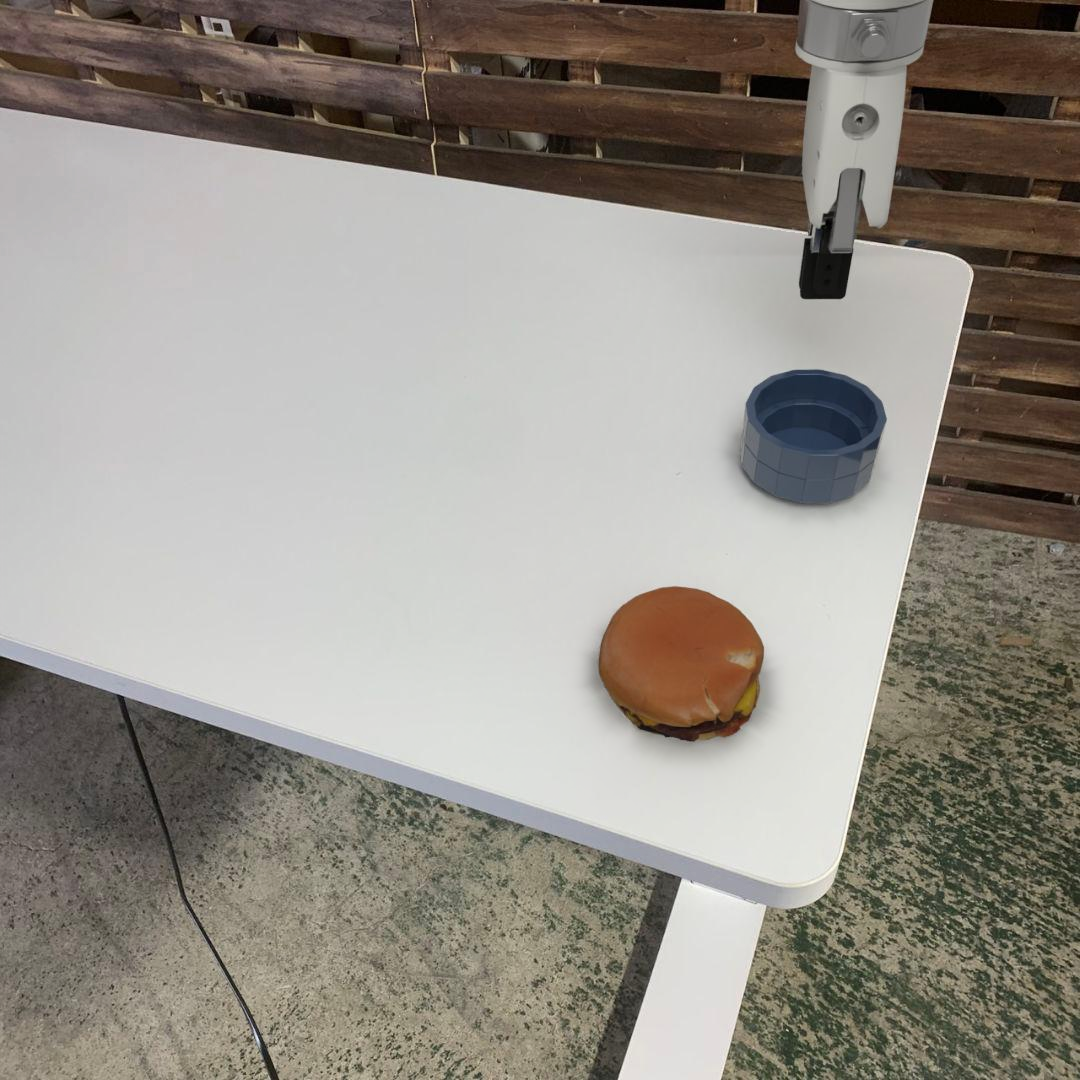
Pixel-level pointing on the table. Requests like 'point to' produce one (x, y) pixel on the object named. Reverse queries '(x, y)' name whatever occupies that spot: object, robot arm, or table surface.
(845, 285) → the robot arm
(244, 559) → the table surface
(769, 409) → the bowl
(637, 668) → the burger
